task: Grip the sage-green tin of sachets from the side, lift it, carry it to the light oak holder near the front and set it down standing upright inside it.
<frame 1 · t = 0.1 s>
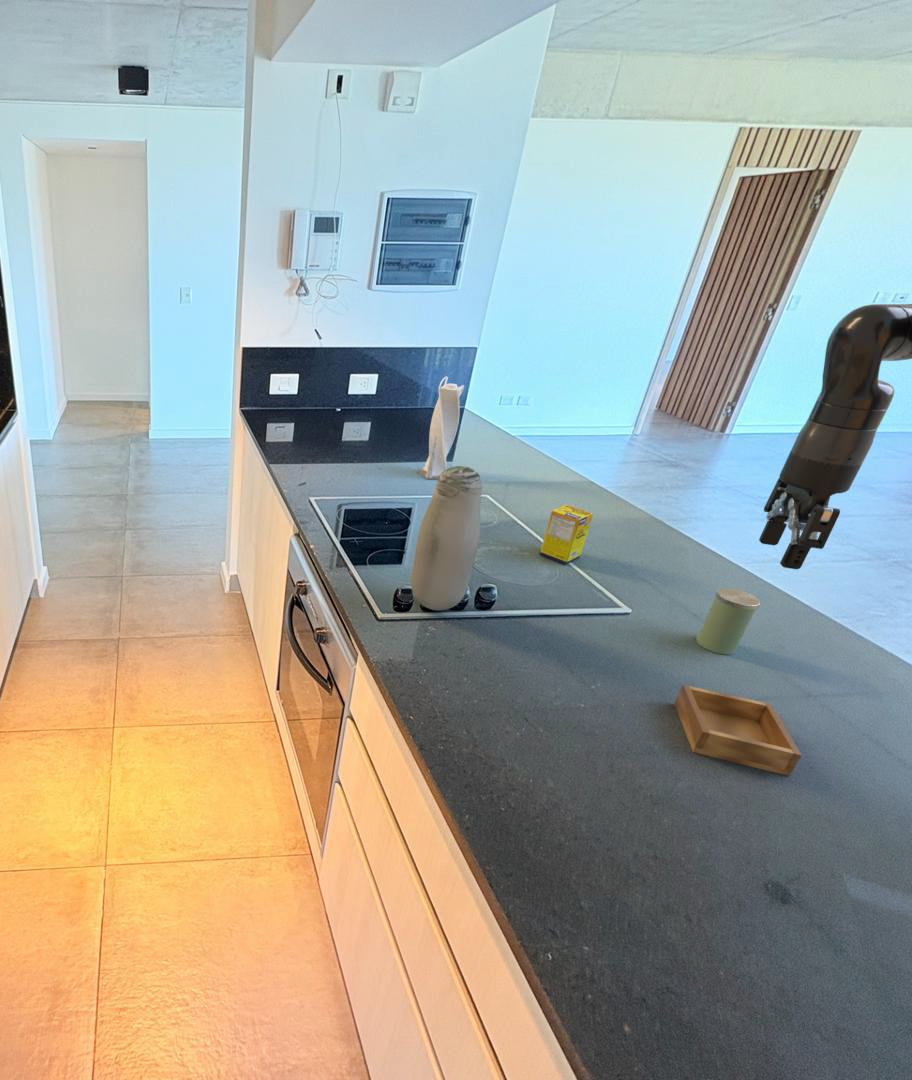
hand: (777, 555, 94), 20 cm above the worktop, tool pointing down, fingers open, 8 cm apart
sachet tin: (715, 645, 107), on the worktop
holder: (727, 737, 87), on the worktop
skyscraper: (433, 474, 182), on the worktop
supplement box: (558, 557, 136), on the worktop
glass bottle: (433, 605, 118), on the worktop
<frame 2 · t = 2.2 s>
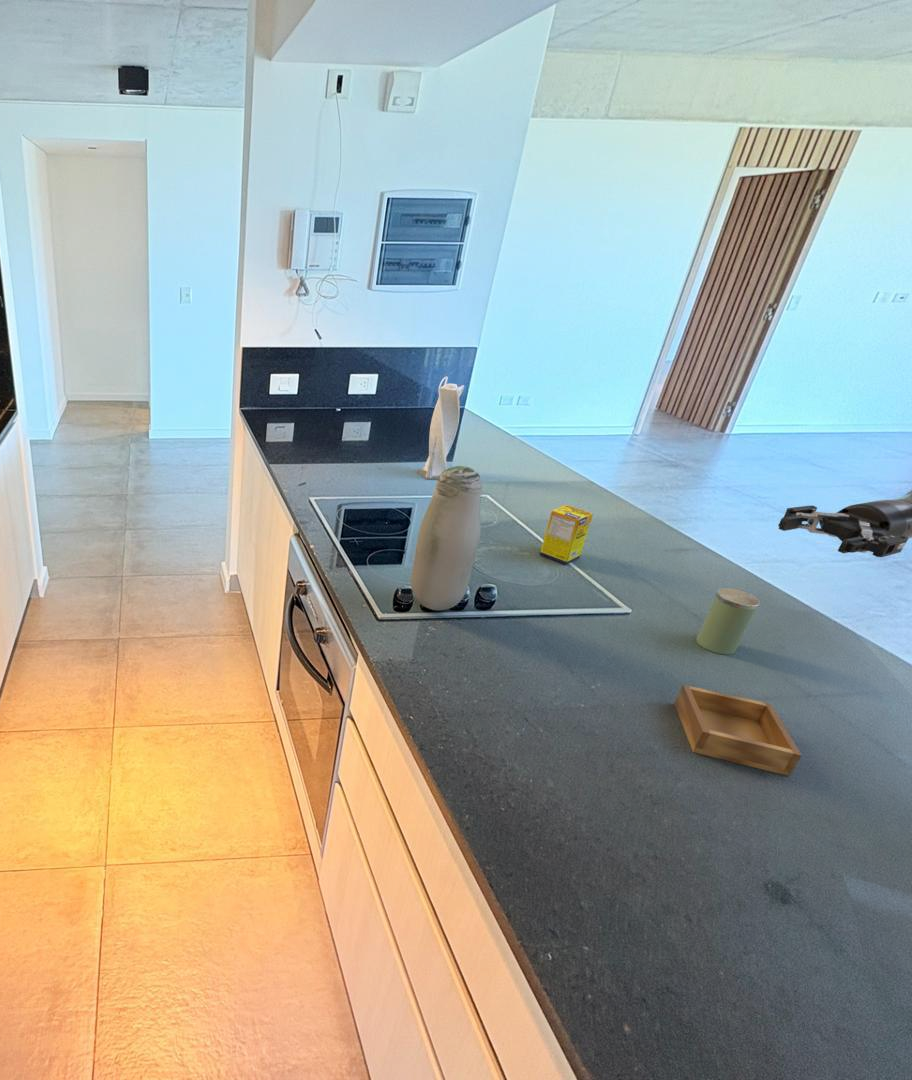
hand: (811, 535, 101), 20 cm above the worktop, tool horizontal, fingers open, 8 cm apart
nothing on the worktop moved.
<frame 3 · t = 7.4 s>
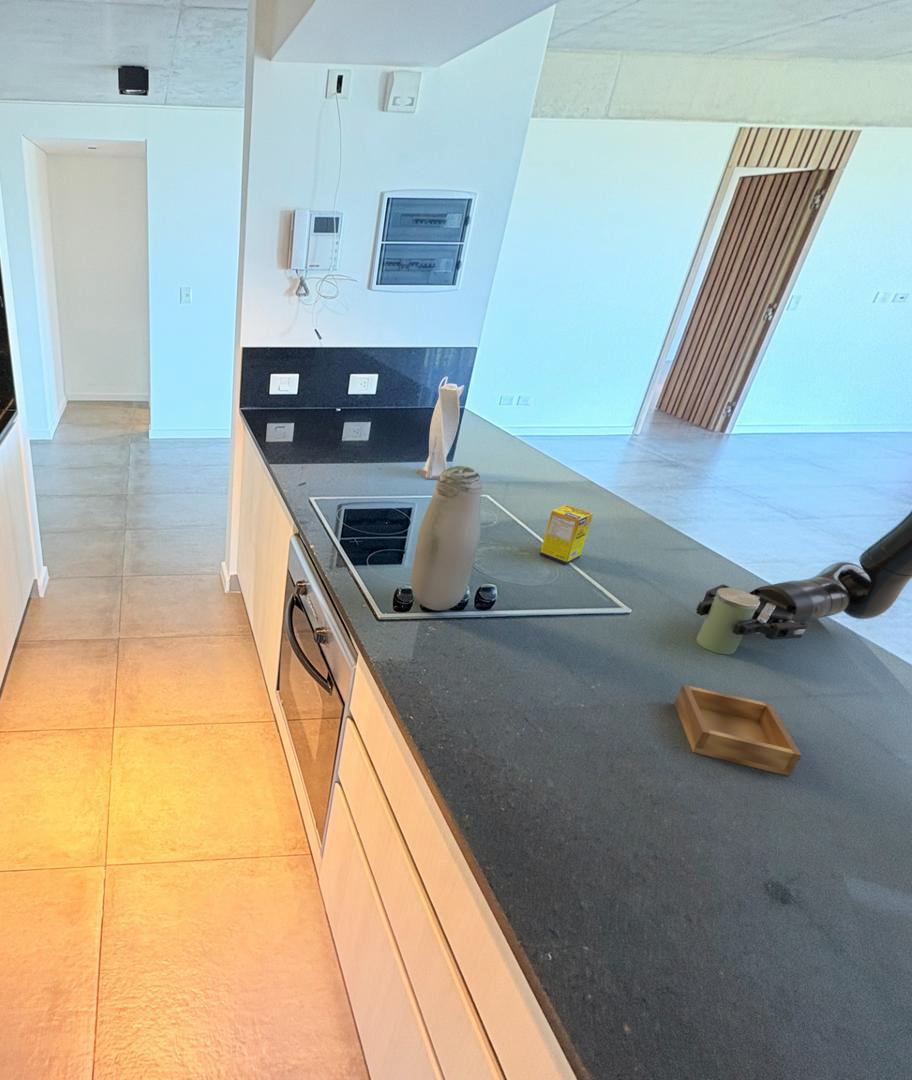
hand: (717, 618, 104), 6 cm above the worktop, tool horizontal, fingers closed on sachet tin, 5 cm apart
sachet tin: (715, 645, 107), on the worktop, touching gripper
everything else where it was.
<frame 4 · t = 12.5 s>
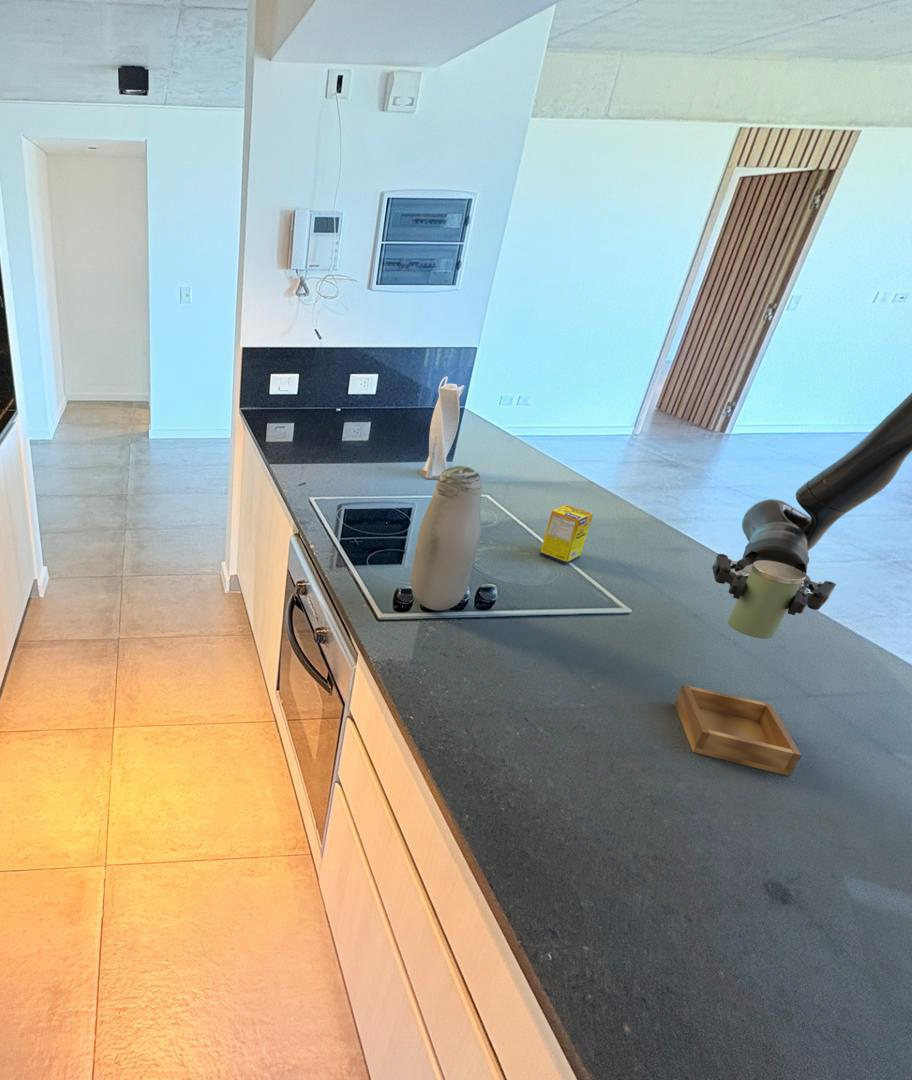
hand: (765, 600, 87), 18 cm above the worktop, tool horizontal, fingers closed on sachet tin, 5 cm apart
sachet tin: (750, 628, 91), point 12 cm above the worktop, touching gripper
everything else where it was.
when the fingers open (7 cm above the worktop, at t = 18.0 s): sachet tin stays where it is, resting on holder.
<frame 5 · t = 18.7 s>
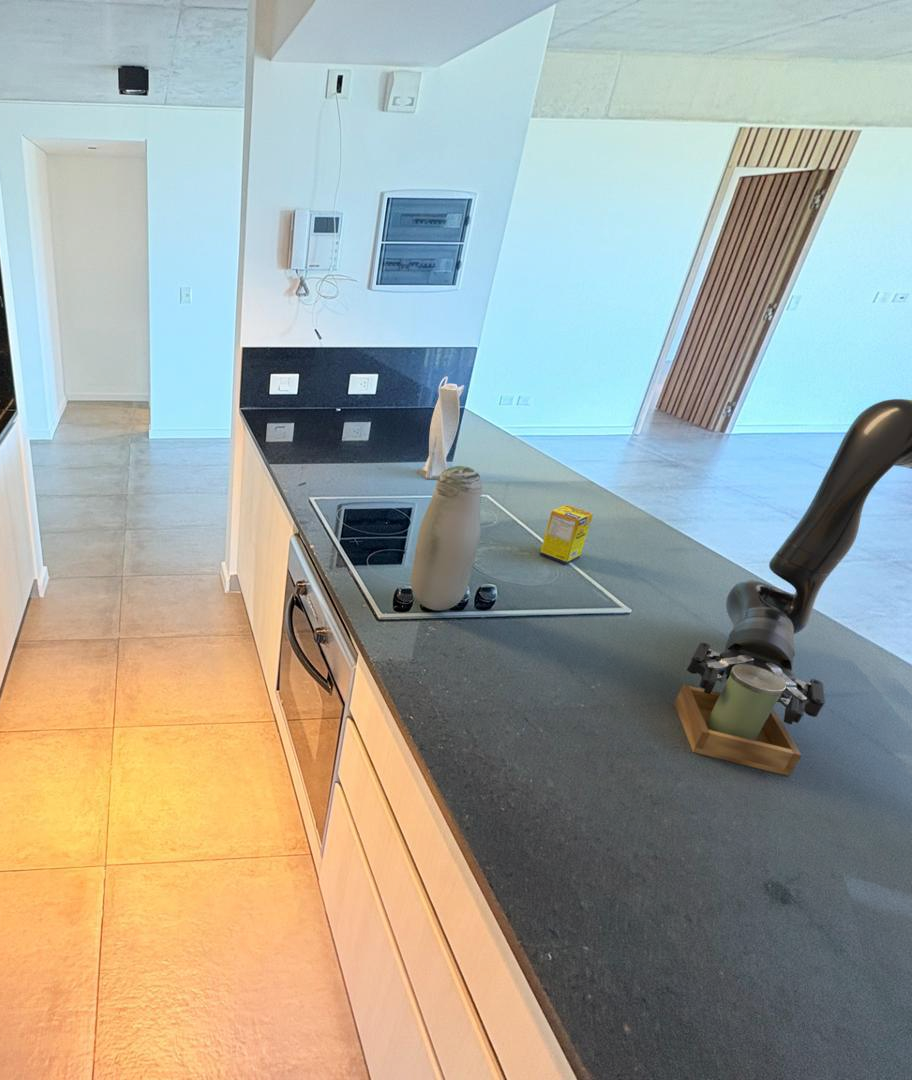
hand: (748, 702, 83), 8 cm above the worktop, tool horizontal, fingers open, 8 cm apart
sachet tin: (729, 732, 87), point 1 cm above the worktop, touching holder
everything else where it was.
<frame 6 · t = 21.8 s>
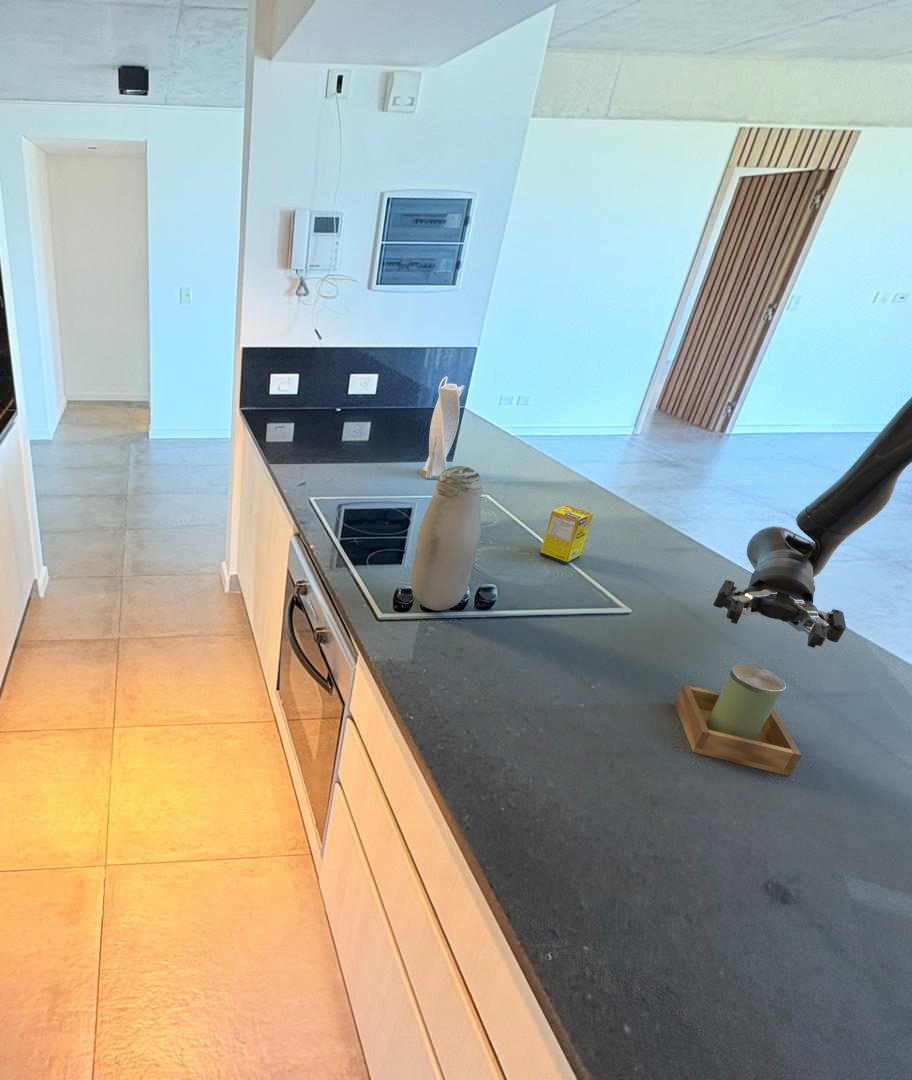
hand: (773, 629, 88), 14 cm above the worktop, tool horizontal, fingers open, 8 cm apart
nothing on the worktop moved.
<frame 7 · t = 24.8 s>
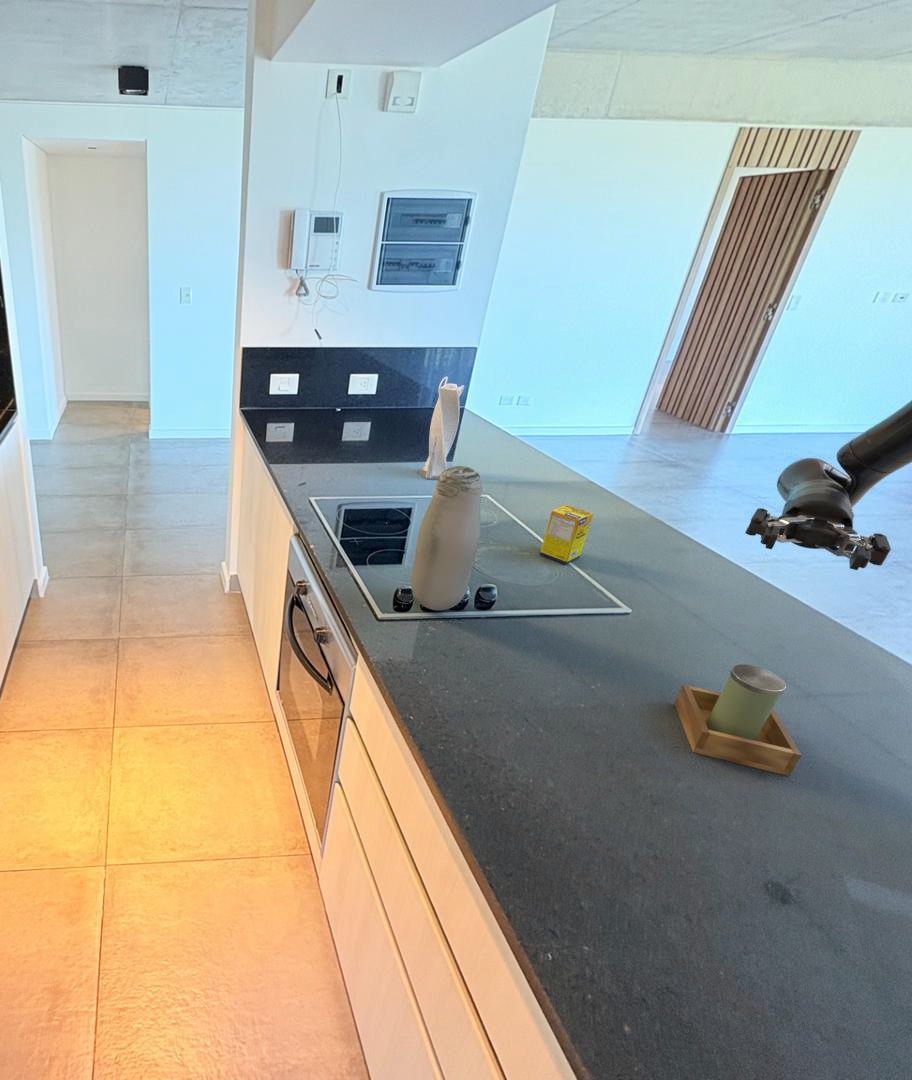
hand: (812, 552, 82), 26 cm above the worktop, tool horizontal, fingers open, 8 cm apart
nothing on the worktop moved.
at the end: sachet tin 0.1 cm off-centre in the holder, point 0.8 cm above the holder's base; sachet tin tilted 0°; the gripper is holding nothing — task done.
